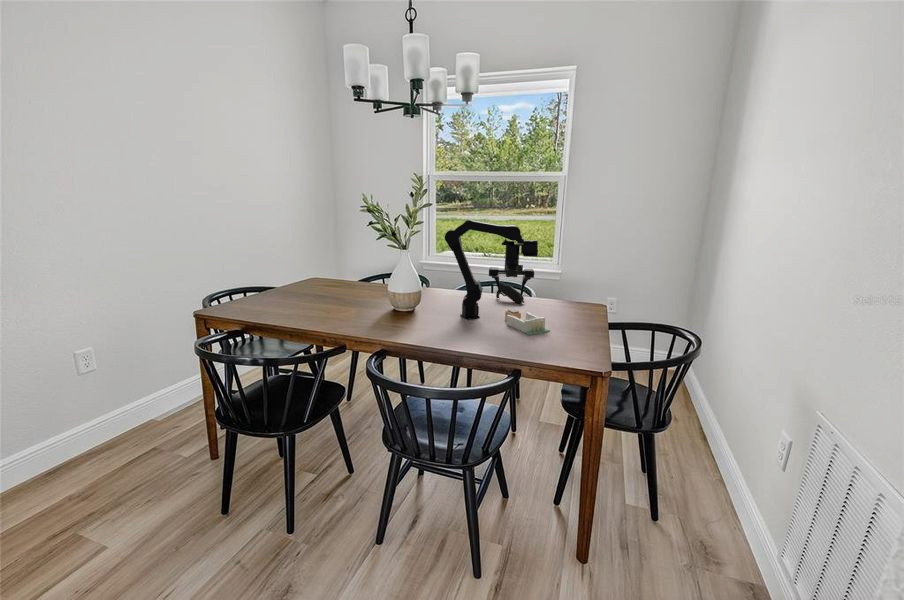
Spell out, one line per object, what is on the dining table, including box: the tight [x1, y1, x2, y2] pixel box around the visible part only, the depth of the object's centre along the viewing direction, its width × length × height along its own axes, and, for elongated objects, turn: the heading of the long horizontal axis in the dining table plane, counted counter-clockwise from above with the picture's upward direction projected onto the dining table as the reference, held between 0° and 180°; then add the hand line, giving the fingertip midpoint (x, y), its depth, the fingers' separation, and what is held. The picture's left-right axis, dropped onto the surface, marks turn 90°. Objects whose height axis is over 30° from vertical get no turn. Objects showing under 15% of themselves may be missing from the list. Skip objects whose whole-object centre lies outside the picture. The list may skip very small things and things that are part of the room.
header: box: [506, 311, 551, 336], centre depth 170 cm, size 11×15×5 cm
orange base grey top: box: [504, 308, 522, 321], centre depth 179 cm, size 4×5×5 cm
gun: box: [495, 281, 526, 305], centre depth 208 cm, size 3×16×10 cm, turn 53°
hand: (510, 292), depth 179 cm, fingers open, 9 cm apart
